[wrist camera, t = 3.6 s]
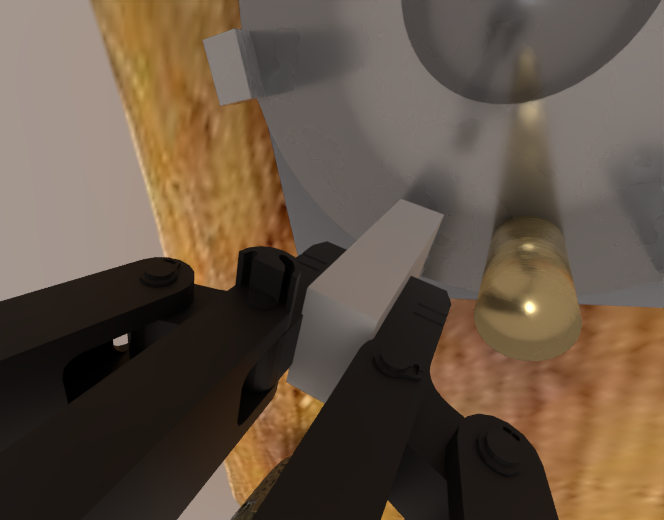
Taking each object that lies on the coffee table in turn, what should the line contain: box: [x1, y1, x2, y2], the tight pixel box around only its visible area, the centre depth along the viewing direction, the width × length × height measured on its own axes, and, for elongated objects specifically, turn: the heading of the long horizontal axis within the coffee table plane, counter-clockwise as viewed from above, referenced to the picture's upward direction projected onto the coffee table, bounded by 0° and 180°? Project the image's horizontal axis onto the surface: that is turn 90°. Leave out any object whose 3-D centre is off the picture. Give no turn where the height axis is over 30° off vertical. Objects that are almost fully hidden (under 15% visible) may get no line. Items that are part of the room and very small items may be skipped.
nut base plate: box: [268, 127, 664, 308], centre depth 14 cm, size 24×24×2 cm
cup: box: [231, 456, 291, 520], centre depth 28 cm, size 8×7×8 cm
